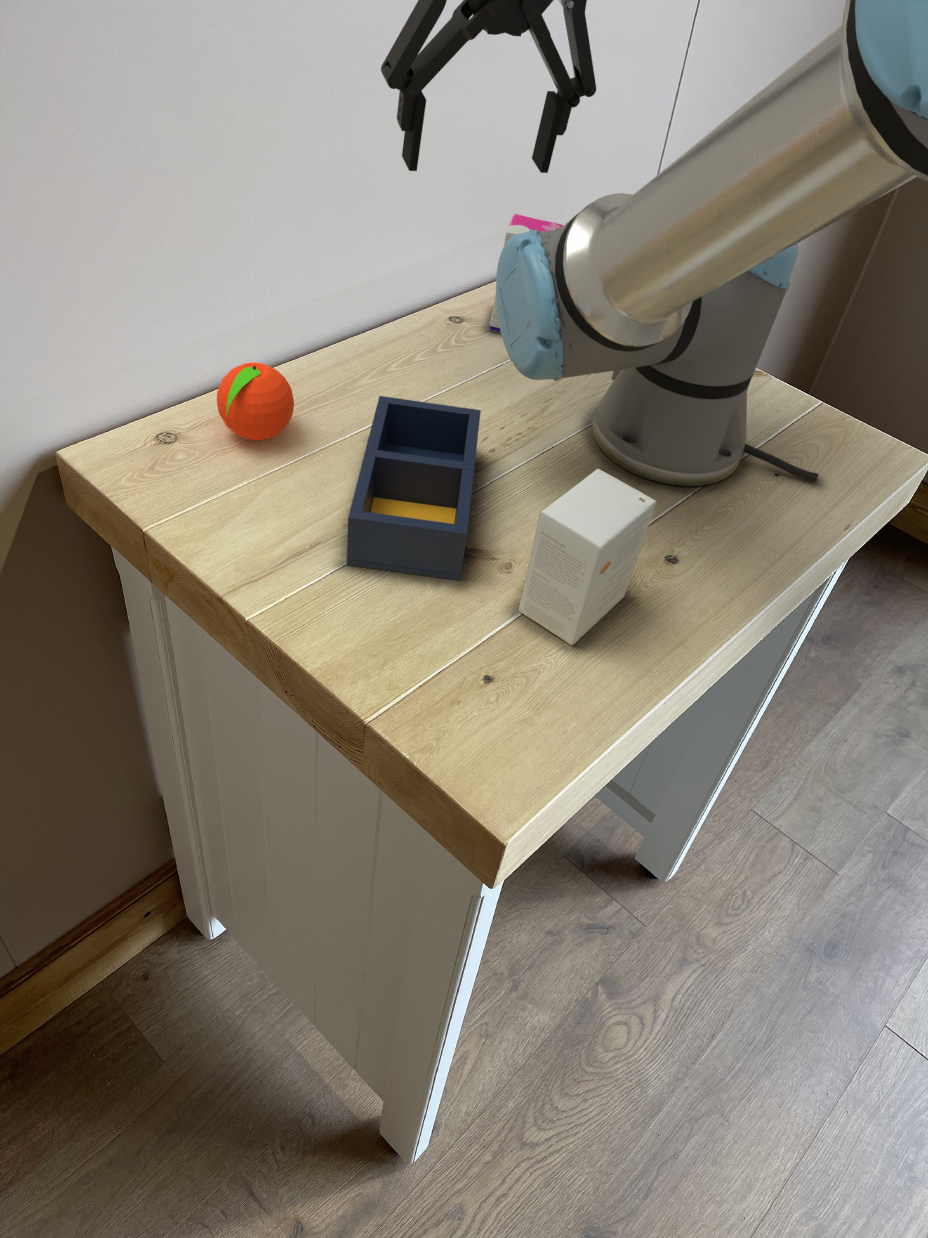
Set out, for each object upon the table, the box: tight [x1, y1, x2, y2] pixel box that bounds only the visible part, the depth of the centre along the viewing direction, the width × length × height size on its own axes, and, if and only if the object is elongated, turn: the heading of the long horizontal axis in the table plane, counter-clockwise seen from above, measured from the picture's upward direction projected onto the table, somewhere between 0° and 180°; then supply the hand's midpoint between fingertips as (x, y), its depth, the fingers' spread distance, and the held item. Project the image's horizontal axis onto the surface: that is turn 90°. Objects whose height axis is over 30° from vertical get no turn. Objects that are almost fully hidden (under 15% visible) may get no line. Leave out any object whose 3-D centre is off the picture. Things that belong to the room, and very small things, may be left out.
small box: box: [518, 468, 658, 646], centre depth 72 cm, size 8×6×10 cm
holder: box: [346, 395, 481, 581], centre depth 80 cm, size 18×9×5 cm, turn 176°
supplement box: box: [488, 213, 564, 334], centre depth 103 cm, size 6×6×12 cm
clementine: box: [216, 362, 295, 441], centre depth 84 cm, size 8×7×7 cm
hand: (475, 164), depth 90 cm, fingers open, 13 cm apart
